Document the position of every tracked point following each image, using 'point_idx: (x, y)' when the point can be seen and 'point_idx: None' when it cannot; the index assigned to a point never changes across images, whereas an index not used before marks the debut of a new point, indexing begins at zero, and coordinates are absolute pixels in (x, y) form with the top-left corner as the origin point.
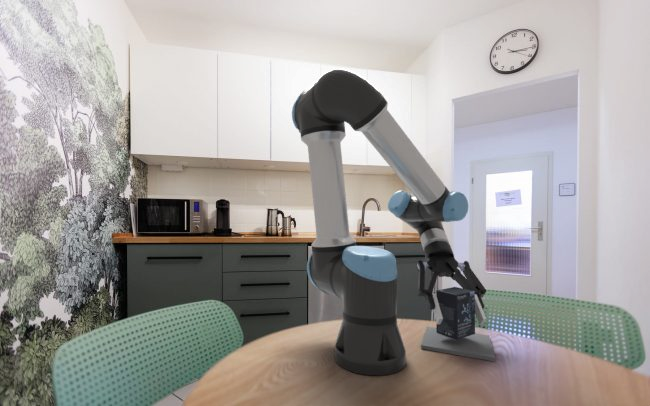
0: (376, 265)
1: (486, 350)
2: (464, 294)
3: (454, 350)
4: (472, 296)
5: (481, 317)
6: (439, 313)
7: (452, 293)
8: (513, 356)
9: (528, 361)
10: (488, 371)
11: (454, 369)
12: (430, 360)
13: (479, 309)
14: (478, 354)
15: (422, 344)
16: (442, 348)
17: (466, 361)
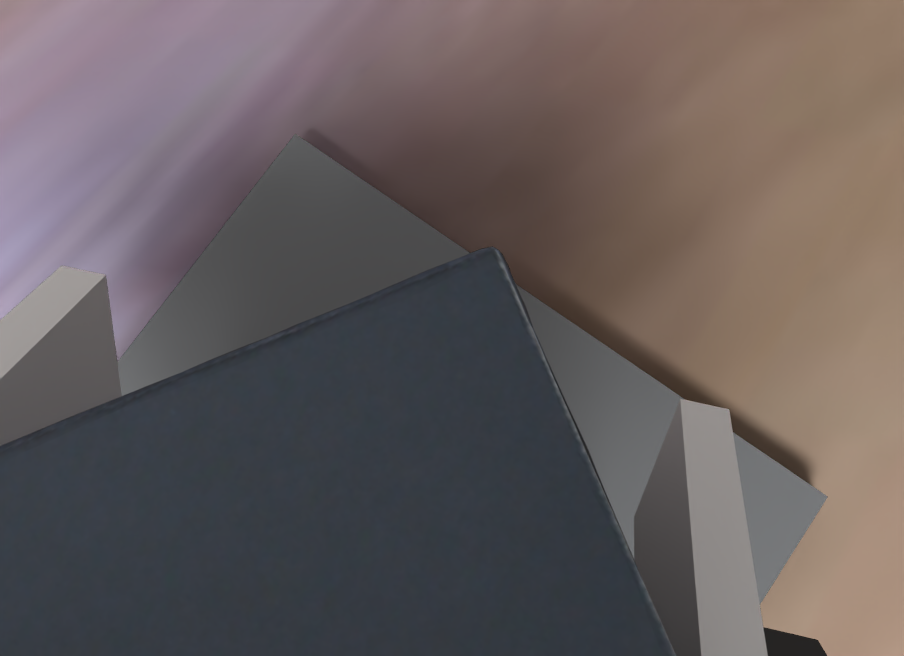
0: None
1: (257, 269)
2: (174, 375)
3: (557, 322)
4: None
5: (83, 328)
6: (716, 467)
7: (538, 347)
8: (66, 205)
9: (28, 108)
10: (476, 21)
11: (718, 87)
12: (836, 255)
13: (13, 365)
14: (393, 207)
15: (805, 508)
16: (647, 383)
17: (536, 189)
